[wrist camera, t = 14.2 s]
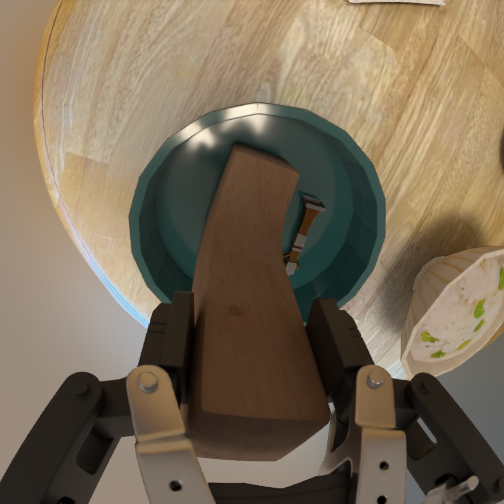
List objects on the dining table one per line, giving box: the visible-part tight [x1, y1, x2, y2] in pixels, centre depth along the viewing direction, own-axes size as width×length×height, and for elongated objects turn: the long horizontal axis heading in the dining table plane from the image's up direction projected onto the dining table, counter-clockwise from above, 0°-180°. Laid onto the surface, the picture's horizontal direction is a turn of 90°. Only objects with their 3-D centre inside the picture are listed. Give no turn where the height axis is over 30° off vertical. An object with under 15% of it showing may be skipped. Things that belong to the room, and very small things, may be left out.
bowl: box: [400, 246, 504, 378], centre depth 26 cm, size 19×19×10 cm
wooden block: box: [180, 142, 331, 461], centre depth 15 cm, size 9×4×18 cm, turn 159°
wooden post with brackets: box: [283, 195, 326, 276], centre depth 25 cm, size 2×8×4 cm
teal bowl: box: [129, 102, 386, 326], centre depth 23 cm, size 20×20×6 cm
